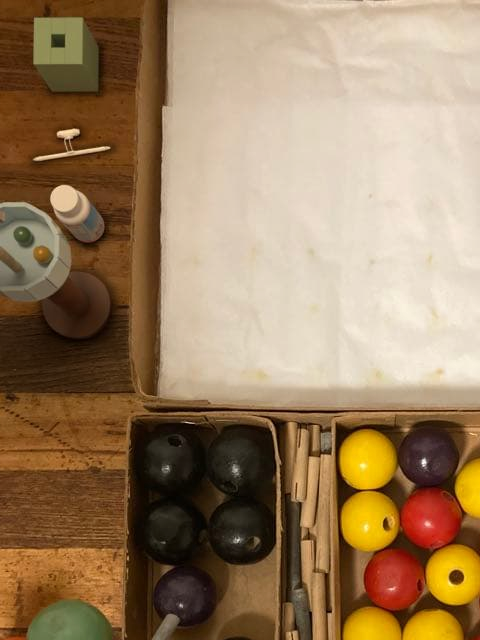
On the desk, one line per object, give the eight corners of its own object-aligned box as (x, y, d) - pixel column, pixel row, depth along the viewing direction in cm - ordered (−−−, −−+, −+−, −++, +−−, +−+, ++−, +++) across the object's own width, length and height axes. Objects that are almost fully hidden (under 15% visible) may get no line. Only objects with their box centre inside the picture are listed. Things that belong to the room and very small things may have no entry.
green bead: (17, 247, 129) (10, 240, 126) (18, 230, 129) (10, 223, 126) (34, 247, 129) (27, 240, 126) (35, 230, 129) (27, 223, 126)
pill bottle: (92, 204, 151) (68, 173, 140) (112, 231, 151) (89, 201, 140) (64, 223, 151) (38, 193, 140) (84, 250, 151) (59, 222, 140)
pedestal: (44, 339, 150) (-13, 298, 129) (45, 273, 150) (-11, 221, 129) (112, 338, 150) (66, 297, 129) (112, 273, 151) (67, 221, 130)
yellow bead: (37, 266, 129) (29, 259, 126) (37, 249, 129) (30, 242, 126) (54, 266, 129) (47, 259, 126) (54, 249, 129) (47, 242, 126)
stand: (51, 91, 153) (33, 64, 145) (52, 47, 153) (33, 17, 145) (98, 91, 153) (82, 64, 145) (98, 47, 153) (82, 17, 145)
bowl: (-17, 302, 129) (-34, 290, 124) (-16, 217, 130) (-32, 202, 125) (71, 301, 129) (58, 290, 124) (72, 216, 130) (59, 201, 125)
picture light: (34, 162, 152) (29, 156, 150) (31, 139, 152) (25, 133, 150) (111, 150, 152) (107, 144, 150) (107, 127, 152) (103, 121, 150)
